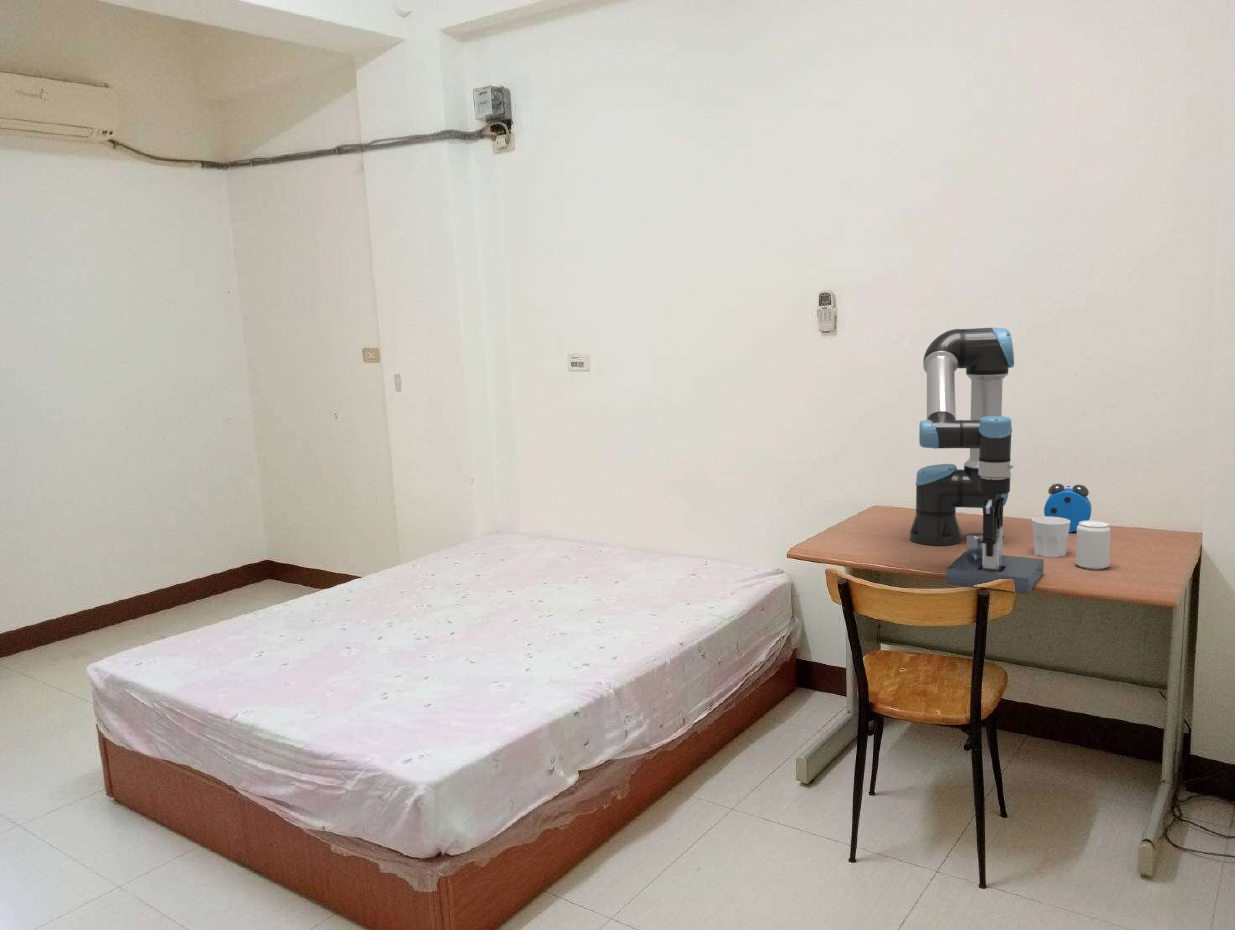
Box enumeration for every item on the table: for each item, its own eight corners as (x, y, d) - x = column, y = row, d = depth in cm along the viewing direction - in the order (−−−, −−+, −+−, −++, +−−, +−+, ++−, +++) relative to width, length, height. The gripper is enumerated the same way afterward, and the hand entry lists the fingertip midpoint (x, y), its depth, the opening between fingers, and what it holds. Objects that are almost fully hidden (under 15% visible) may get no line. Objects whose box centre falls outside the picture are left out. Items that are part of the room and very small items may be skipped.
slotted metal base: (945, 583, 236) (946, 546, 234) (965, 565, 252) (965, 530, 251) (1028, 594, 225) (1029, 555, 223) (1043, 573, 241) (1044, 537, 239)
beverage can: (1069, 563, 250) (1070, 521, 248) (1097, 561, 250) (1099, 519, 248) (1086, 571, 242) (1088, 527, 240) (1115, 569, 242) (1117, 525, 240)
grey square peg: (982, 572, 234) (983, 527, 232) (985, 568, 238) (986, 524, 236) (998, 574, 232) (999, 529, 230) (1001, 570, 235) (1003, 525, 233)
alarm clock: (1090, 530, 285) (1092, 483, 282) (1089, 534, 279) (1091, 487, 277) (1044, 527, 291) (1046, 481, 289) (1043, 531, 286) (1044, 484, 283)
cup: (1022, 552, 263) (1023, 519, 261) (1047, 547, 266) (1049, 515, 265) (1051, 560, 253) (1052, 525, 252) (1077, 555, 257) (1078, 521, 256)
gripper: (1002, 483, 222) (1000, 575, 226) (1016, 472, 236) (1014, 559, 239) (970, 481, 226) (968, 572, 230) (986, 470, 240) (984, 556, 244)
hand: (992, 565), depth 235 cm, fingers closed on grey square peg, 4 cm apart
